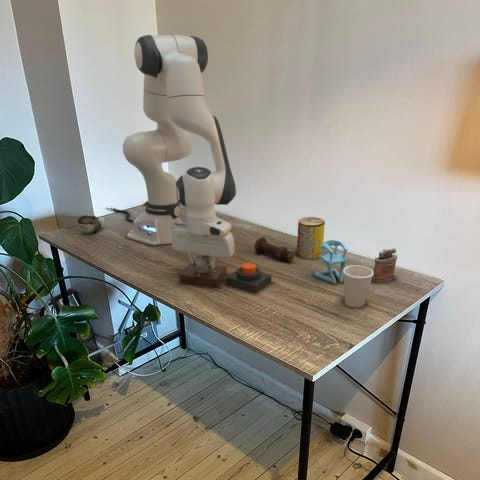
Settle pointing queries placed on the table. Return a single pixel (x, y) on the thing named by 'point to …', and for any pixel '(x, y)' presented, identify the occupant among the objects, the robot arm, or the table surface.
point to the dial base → (203, 276)
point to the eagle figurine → (93, 221)
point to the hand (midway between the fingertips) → (203, 266)
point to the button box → (248, 280)
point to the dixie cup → (356, 284)
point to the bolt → (273, 250)
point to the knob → (202, 263)
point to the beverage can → (310, 237)
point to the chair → (332, 261)
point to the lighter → (384, 266)
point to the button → (248, 268)
